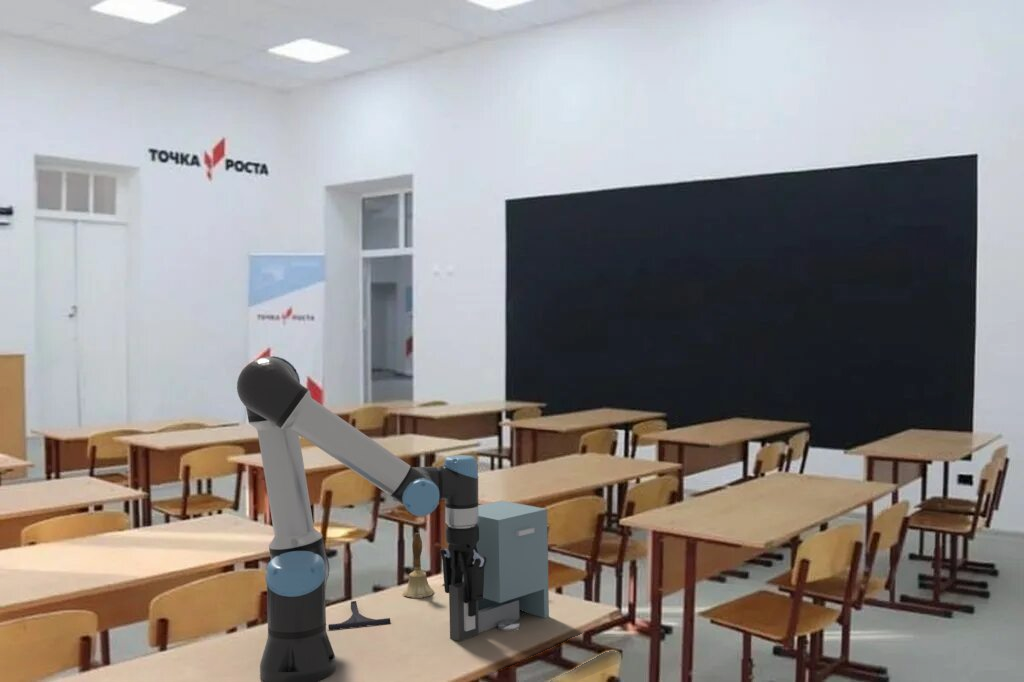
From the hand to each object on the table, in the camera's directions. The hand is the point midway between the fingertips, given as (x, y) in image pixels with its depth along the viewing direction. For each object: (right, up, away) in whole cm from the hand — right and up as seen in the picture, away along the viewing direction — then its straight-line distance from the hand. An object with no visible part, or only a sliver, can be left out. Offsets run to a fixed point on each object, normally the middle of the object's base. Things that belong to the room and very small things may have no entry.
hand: (464, 627), depth 204 cm
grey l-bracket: (+5, -2, +5) cm, 7 cm away
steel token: (+10, -2, +5) cm, 12 cm away
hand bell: (-14, -2, +33) cm, 36 cm away
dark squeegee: (-27, -3, +15) cm, 31 cm away
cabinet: (+8, -2, +13) cm, 15 cm away
